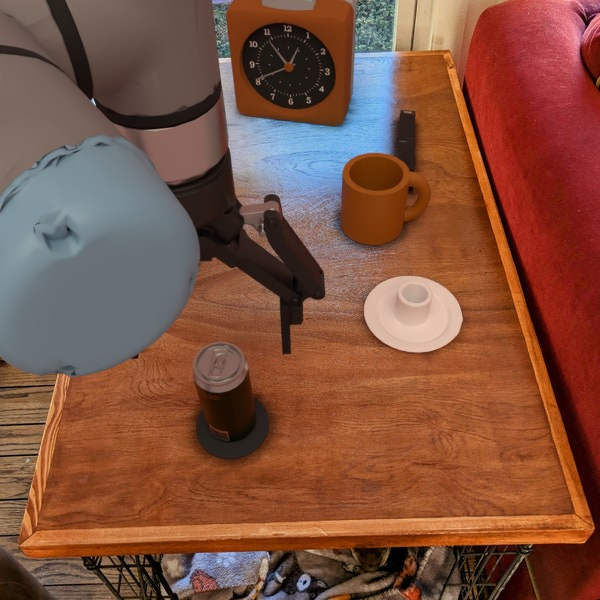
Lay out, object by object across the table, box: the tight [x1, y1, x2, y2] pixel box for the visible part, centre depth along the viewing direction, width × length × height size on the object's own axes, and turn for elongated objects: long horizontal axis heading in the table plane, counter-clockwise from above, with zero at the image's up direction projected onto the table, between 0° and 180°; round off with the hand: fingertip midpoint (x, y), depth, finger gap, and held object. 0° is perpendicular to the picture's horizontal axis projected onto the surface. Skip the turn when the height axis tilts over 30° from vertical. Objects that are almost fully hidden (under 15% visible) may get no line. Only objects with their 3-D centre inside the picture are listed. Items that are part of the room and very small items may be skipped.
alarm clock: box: [225, 0, 358, 127], centre depth 99 cm, size 18×9×21 cm, turn 77°
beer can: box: [191, 341, 256, 443], centre depth 64 cm, size 5×5×12 cm
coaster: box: [195, 396, 270, 460], centre depth 69 cm, size 8×8×1 cm
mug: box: [340, 152, 432, 246], centre depth 85 cm, size 9×12×9 cm
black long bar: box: [396, 109, 416, 193], centre depth 97 cm, size 18×3×3 cm, turn 173°
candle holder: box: [363, 275, 464, 353], centre depth 76 cm, size 12×12×4 cm
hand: (211, 344), depth 57 cm, fingers open, 13 cm apart
